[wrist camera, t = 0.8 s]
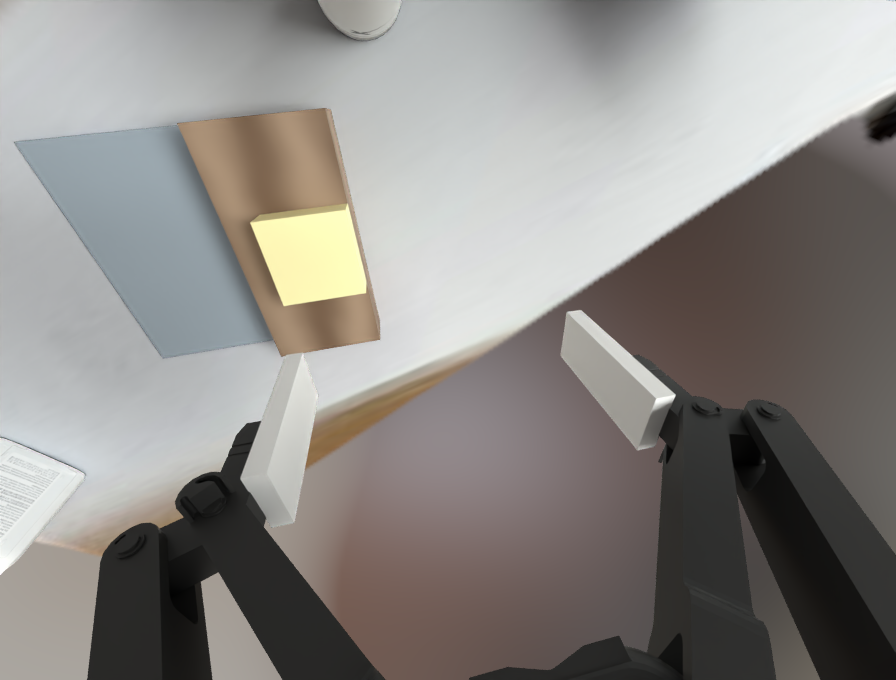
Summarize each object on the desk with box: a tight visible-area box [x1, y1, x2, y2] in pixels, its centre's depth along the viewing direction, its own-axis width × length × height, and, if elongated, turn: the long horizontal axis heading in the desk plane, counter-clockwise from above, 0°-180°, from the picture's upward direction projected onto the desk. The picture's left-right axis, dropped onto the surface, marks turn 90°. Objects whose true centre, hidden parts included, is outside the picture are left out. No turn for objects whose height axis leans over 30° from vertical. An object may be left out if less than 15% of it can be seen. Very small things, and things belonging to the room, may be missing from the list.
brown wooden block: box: [177, 108, 380, 357], centre depth 31 cm, size 10×20×4 cm, turn 5°
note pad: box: [250, 203, 366, 306], centre depth 29 cm, size 7×7×2 cm
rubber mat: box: [14, 125, 274, 358], centre depth 32 cm, size 13×20×1 cm, turn 5°
